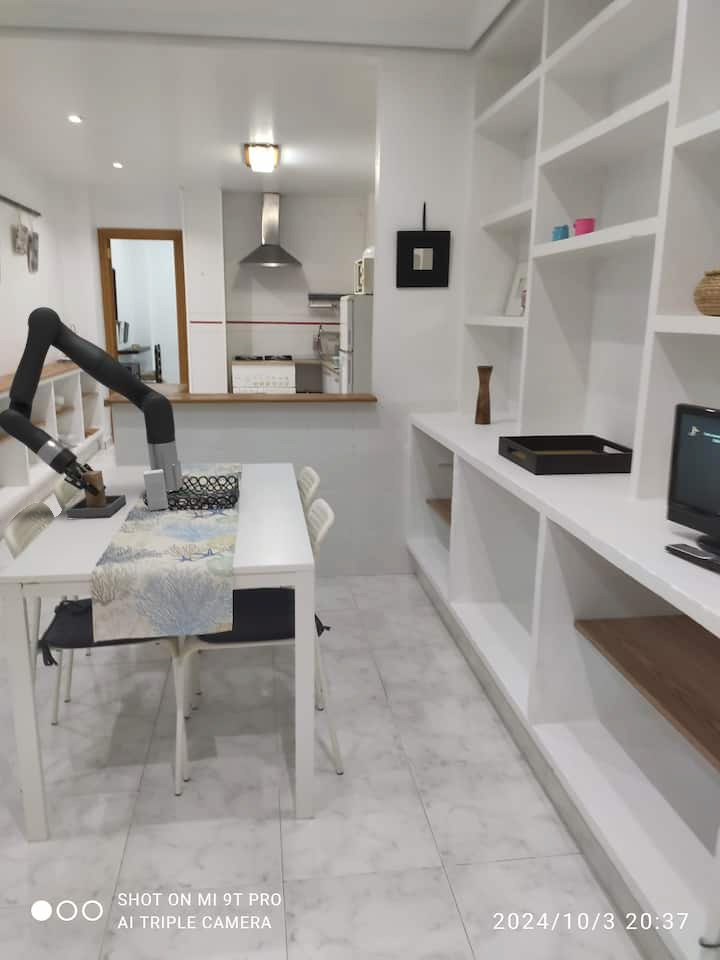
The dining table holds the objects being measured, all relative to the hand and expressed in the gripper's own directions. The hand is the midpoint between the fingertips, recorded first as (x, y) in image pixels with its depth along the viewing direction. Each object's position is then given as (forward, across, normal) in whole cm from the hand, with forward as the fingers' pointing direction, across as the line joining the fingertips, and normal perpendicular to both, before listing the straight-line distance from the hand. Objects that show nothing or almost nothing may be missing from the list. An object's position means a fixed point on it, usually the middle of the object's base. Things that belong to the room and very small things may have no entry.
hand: (101, 491), depth 219 cm
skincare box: (+17, +1, -8) cm, 18 cm away
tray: (+3, 0, +6) cm, 7 cm away
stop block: (+2, 0, +5) cm, 5 cm away
